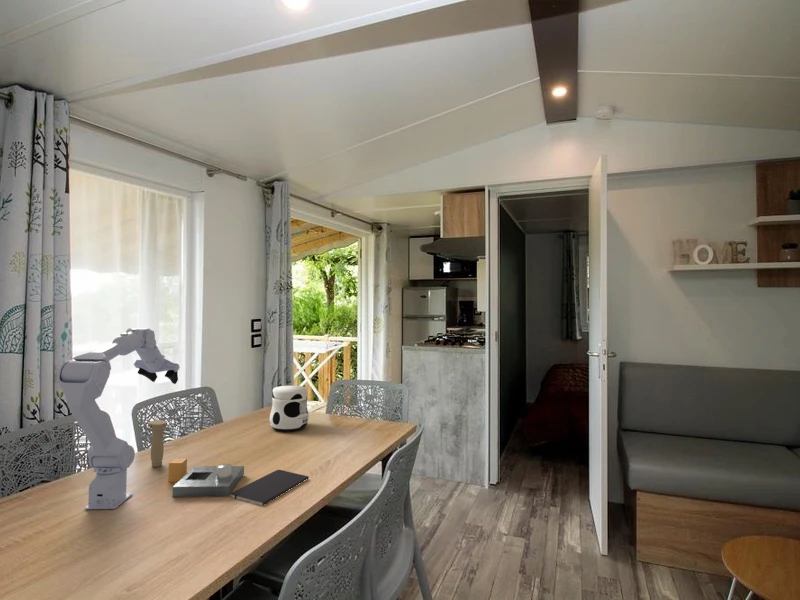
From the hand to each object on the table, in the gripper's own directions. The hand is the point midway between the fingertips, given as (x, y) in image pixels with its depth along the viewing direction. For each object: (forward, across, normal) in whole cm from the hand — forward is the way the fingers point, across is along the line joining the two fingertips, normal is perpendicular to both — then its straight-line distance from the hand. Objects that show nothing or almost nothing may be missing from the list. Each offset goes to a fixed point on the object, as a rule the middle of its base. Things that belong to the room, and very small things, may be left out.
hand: (165, 380), depth 153 cm
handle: (+21, 0, +21) cm, 30 cm away
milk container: (+54, -31, -16) cm, 64 cm away
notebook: (+10, -45, +29) cm, 55 cm away
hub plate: (+10, -26, +30) cm, 41 cm away
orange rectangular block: (+13, -14, +28) cm, 34 cm away
